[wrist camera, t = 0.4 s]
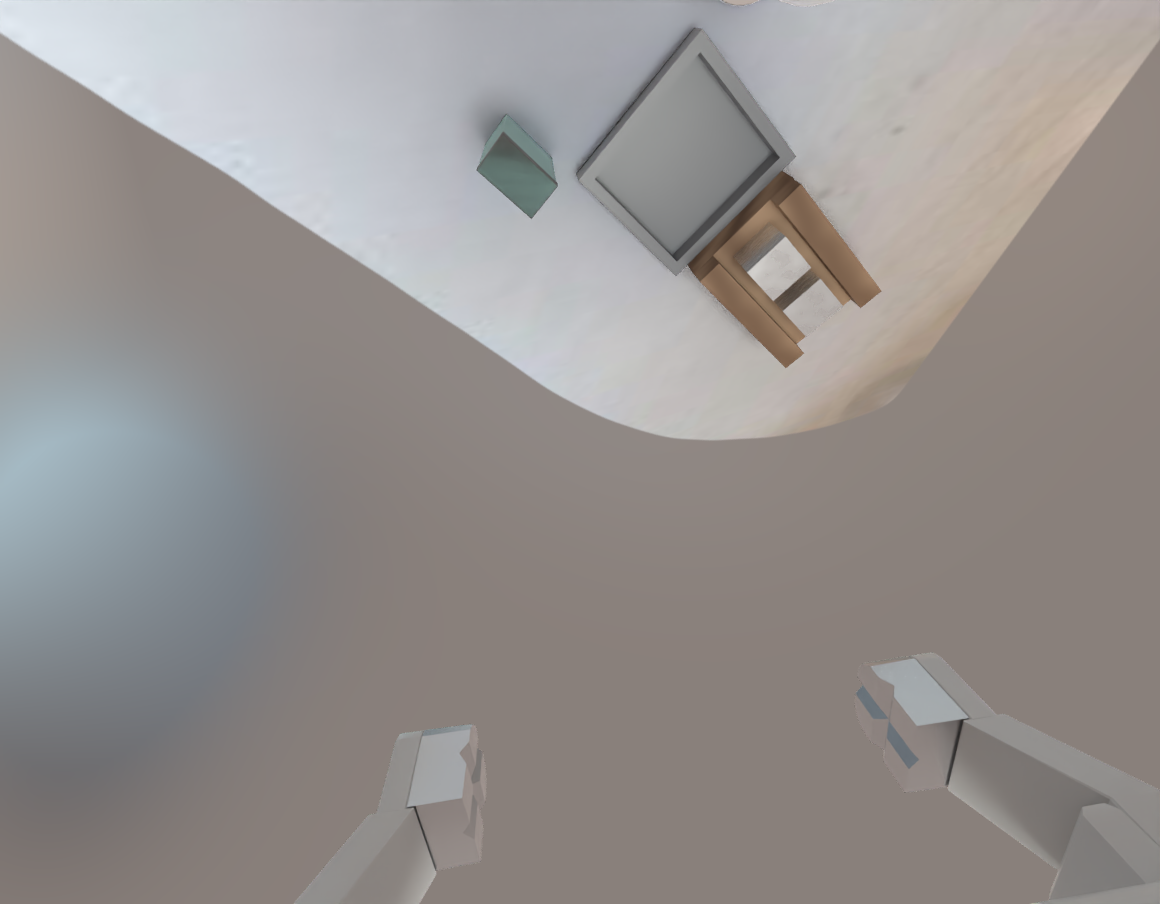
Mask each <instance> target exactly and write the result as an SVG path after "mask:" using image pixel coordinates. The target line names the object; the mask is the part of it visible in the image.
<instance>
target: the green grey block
mask: <svg viewBox="0 0 1160 904" xmlns="http://www.w3.org/2000/svg"><path fill="white" fill-rule="evenodd" d="M477 171H478V172H479V173H480V174H481V175H482V176H484V177H485V178H486V179H487V180H488V181H489V182H490V183H491V184H493V185H494V186H495V187H496V188H497V189H498V190H499V191H501V192H502V193H503V194H504V195H505V196H506V197H507V198H508V199H510V200H511V201H512V202H513V203H514V204H515V205H516V206H517V207H519V208H520V209H521V210H522V211H523V212H524V213H525V214H527V215H528V216H529V217H530V218H531V219H532V218H533V216H534V215H535V214H536V213H537V211H538V210H539V209H540V208H541V206H542V205H543V204H544V203H545V201H546V200H547V199H548V198H549V196H550V195H551V194H552V193H553V191H554V190H555V189H556V188H557V186H558V184H557V182H556V178H555V173H554V168H553V162H552V158H551V157H550V156H549V155H548V154H547V153H546V152H545V151H544V150H543V149H542V148H541V147H540V146H539V145H538V144H537V143H536V142H535V141H534V140H533V139H532V138H531V137H530V136H529V135H528V134H527V133H526V132H525V131H524V130H523V129H522V128H521V127H519V126H518V125H517V124H516V123H515V122H514V121H513V120H512V119H511V118H510V117H509V116H508V115H507V114H506V115H505V117H504V118H503V120H502V121H501V123H500V124H499V125H498V127H497V128H496V130H495V131H494V133H493V134H492V135H491V137H490V138H489V140H488V141H487V143H486V144H485V147H484V150H483V154H482V157H481V160H480V164H479V166H478V167H477Z"/></svg>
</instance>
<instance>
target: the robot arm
mask: <svg viewBox="0 0 1160 904" xmlns="http://www.w3.org/2000/svg"><path fill="white" fill-rule="evenodd" d="M858 679H859V680H860V682H861V683H862V687H861V688H860V689H859V690H858V691H857V692H856V694H855V709H856V713H857V718H858V721H859V723H860V725H861V727H862V729H863V731H864V733H865V734H866V736H867V737H868V739H869V741H870V742H872V743H873V744H875V745H877V746H878V747H880V748H882V749H883V750H884V763H885V765H886V766H887V767H888V769H889V770H890V772H891V773H892V775H893V776H894V778H895V779H896V781H897V782H898V784H899V785H900V787H901V788H902V790H903V791H904V793H906V792H914V791H922V790H929V789H937V788H945V787H948V790H949V791H950V792H952V793H953V794H954V795H956V796H957V797H958V798H960V799H961V800H963V801H964V802H965V803H967V804H968V805H969V806H971V807H972V808H973V809H975V810H976V811H977V812H979V813H980V814H982V815H983V816H984V817H986V818H987V819H988V820H990V821H991V822H992V823H994V824H995V825H997V826H998V827H999V828H1001V829H1002V830H1003V831H1005V832H1006V833H1008V834H1009V835H1010V836H1011V837H1013V838H1014V839H1016V840H1017V841H1018V842H1020V843H1021V844H1023V845H1024V846H1025V847H1027V848H1028V849H1029V850H1031V851H1032V852H1033V853H1035V854H1036V855H1037V856H1039V857H1040V858H1042V859H1043V860H1044V861H1046V862H1047V863H1048V864H1050V865H1051V866H1052V867H1054V868H1055V869H1057V870H1058V872H1057V875H1056V877H1055V880H1054V883H1053V886H1052V888H1051V891H1050V896H1049V901H1044V902H1037V903H1032V904H1160V790H1159V789H1157V788H1155V787H1153V786H1151V785H1149V784H1147V783H1145V782H1142V781H1141V780H1139V779H1136V778H1134V777H1132V776H1130V775H1128V774H1126V773H1124V772H1122V771H1120V770H1118V769H1116V768H1114V767H1112V766H1110V765H1108V764H1105V763H1104V762H1102V761H1100V760H1098V759H1096V758H1093V757H1091V756H1089V755H1087V754H1085V753H1083V752H1081V751H1079V750H1077V749H1075V748H1073V747H1071V746H1069V745H1067V744H1065V743H1063V742H1061V741H1059V740H1057V739H1054V738H1053V737H1050V736H1049V735H1046V734H1044V733H1042V732H1040V731H1038V730H1036V729H1034V728H1032V727H1030V726H1028V725H1026V724H1024V723H1022V722H1020V721H1018V720H1016V719H1014V718H1012V717H1010V716H1008V715H1006V714H1000V715H997V714H996V713H995V712H994V711H993V710H992V709H991V708H990V707H989V706H988V705H987V704H986V703H985V702H984V701H983V700H982V699H981V698H980V697H979V696H978V695H977V694H976V693H975V692H974V691H973V690H972V689H971V688H970V687H969V686H968V685H967V684H966V683H965V682H964V680H962V679H961V677H960V676H959V675H958V674H957V673H956V672H955V671H954V670H953V669H952V668H951V667H950V666H949V665H948V664H947V663H946V662H945V661H944V660H943V659H942V658H941V657H940V656H939V655H937V654H935V653H933V652H932V653H925V654H919V655H913V656H908V657H906V656H905V657H898V658H892V659H887V660H880V661H875V662H869V663H863V664H862V665H861V666H860V667H859V670H858ZM477 745H478V733H477V730H476V727H475V725H474V724H470V725H461V726H454V727H445V728H438V729H430V730H424V731H416V732H409V733H401V734H400V735H399V737H398V738H397V740H396V742H395V746H394V749H393V753H392V757H391V761H390V765H389V769H388V772H387V776H386V780H385V784H384V787H383V791H382V795H381V798H380V802H379V806H378V810H377V813H375V814H370V815H368V817H367V818H366V819H365V820H364V821H363V822H362V823H361V825H360V826H359V827H358V828H357V829H356V831H355V832H354V833H353V834H352V835H351V836H350V838H349V839H348V840H347V841H346V842H345V844H344V845H343V846H342V847H341V848H340V849H339V851H338V852H337V853H336V854H335V855H334V857H333V858H332V859H331V860H330V861H329V862H328V864H327V865H326V866H325V867H324V868H323V869H322V871H321V872H320V873H319V874H318V875H317V877H316V878H315V879H314V880H313V881H312V882H311V884H310V885H309V886H308V887H307V888H306V890H305V891H304V892H303V893H302V894H301V895H300V897H299V898H298V899H297V900H296V901H295V903H294V904H419V903H420V901H421V900H422V898H423V896H424V895H425V893H426V891H427V889H428V888H429V886H430V884H431V883H432V881H433V879H434V877H435V876H436V871H437V870H442V869H447V868H452V867H457V866H462V865H468V864H473V863H478V862H481V852H482V840H483V828H484V825H483V821H482V817H481V814H480V810H481V808H482V807H483V806H484V804H485V802H486V768H485V761H484V756H483V752H482V751H481V750H479V749H478V748H477Z"/></svg>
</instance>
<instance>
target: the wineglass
mask: <svg viewBox="0 0 1160 904" xmlns="http://www.w3.org/2000/svg"><path fill="white" fill-rule="evenodd" d="M720 1H722V2H723V3H725V4H728V5H731V6H746V5H750V4H753V3H755V2H758V1H760V0H720ZM779 1H781V2H784V3H787V4H790V5H794V6H802V7H811V6H815V5H820V4H824V3H829V2H832V1H836V0H779Z"/></svg>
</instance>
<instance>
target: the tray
mask: <svg viewBox="0 0 1160 904" xmlns="http://www.w3.org/2000/svg"><path fill="white" fill-rule="evenodd" d="M795 157H796V156H795V154H794V153H793V152H792V150H791V149H790V148H789V146H788V145H787V143H786V142H785V141H784V139H783V138H782V137H781V135H780V134H779V133H778V131H777V130H776V128H775V127H774V126H773V124H772V123H771V122H770V120H769V119H768V118H767V116H766V115H765V113H764V112H763V111H762V109H761V108H760V107H759V105H758V104H757V103H756V101H755V100H754V98H753V97H752V96H751V94H750V93H749V92H748V90H747V89H746V88H745V86H744V85H743V83H742V82H741V81H740V79H739V78H738V77H737V75H736V74H735V73H734V71H733V70H732V69H731V67H730V66H729V64H728V63H727V62H726V60H725V59H724V58H723V56H722V55H721V54H720V52H719V51H718V49H717V48H716V47H715V45H714V44H713V43H712V41H711V40H710V39H709V37H708V36H707V34H706V33H705V32H704V30H703V29H699V28H694V29H693V30H692V32H691V33H690V34H689V35H688V37H687V38H686V39H685V40H684V41H683V43H682V44H681V45H680V46H679V48H678V49H677V50H676V51H675V53H674V54H673V55H672V56H671V58H670V59H669V60H668V61H667V62H666V64H665V65H664V66H663V67H662V69H661V70H660V71H659V72H658V74H657V75H656V76H655V77H654V79H653V80H652V81H651V82H650V83H649V85H648V86H647V87H646V88H645V90H644V91H643V92H642V93H641V95H640V96H639V97H638V98H637V100H636V101H635V102H634V103H633V105H632V106H631V107H630V108H629V109H628V111H627V112H626V113H625V114H624V116H623V117H622V118H621V119H620V121H619V122H618V123H617V124H616V126H615V127H614V128H613V129H612V130H611V132H610V133H609V134H608V135H607V137H606V138H605V139H604V140H603V142H602V143H601V144H600V145H599V147H598V148H597V149H596V150H595V151H594V153H593V154H592V155H591V156H590V158H589V159H588V160H587V161H586V163H585V164H584V165H583V166H582V168H581V169H580V170H579V171H578V173H577V177H578V181H579V182H580V183H581V184H582V185H584V186H585V187H586V188H587V189H588V190H589V191H590V192H591V193H592V194H593V195H594V196H595V197H596V198H597V199H598V200H599V201H600V202H601V203H602V204H603V205H604V206H605V207H606V208H607V209H608V210H609V211H610V212H611V213H612V214H613V215H614V216H615V217H616V218H617V219H618V220H619V221H620V222H621V223H622V224H623V225H624V226H625V227H626V228H627V229H628V230H629V231H630V232H631V233H632V234H634V235H635V236H636V237H637V238H638V239H639V240H640V241H641V242H642V243H643V244H644V245H645V246H646V247H647V248H648V249H649V250H650V251H651V252H652V253H653V254H654V255H655V256H656V257H657V258H658V259H659V260H660V261H661V262H662V263H663V264H664V265H665V266H666V267H667V268H668V269H669V270H670V271H671V272H672V273H673V274H674V275H675V276H677V275H678V274H679V273H680V272H681V271H682V270H683V269H684V268H685V267H686V266H687V265H688V264H689V263H690V262H691V261H692V260H693V259H694V258H695V257H696V256H697V255H698V254H699V253H700V252H701V251H702V250H703V249H704V248H705V247H706V246H707V245H708V244H709V243H710V242H711V241H712V240H713V239H714V238H715V237H716V236H717V235H718V234H719V233H720V232H721V231H722V230H723V229H724V228H725V227H726V226H727V225H728V224H729V223H730V222H731V221H732V220H733V219H734V218H735V217H736V216H737V215H738V214H739V213H740V212H741V211H742V210H743V209H744V208H745V207H746V206H747V205H748V204H749V203H750V202H751V201H752V200H753V199H754V198H755V197H756V196H757V195H758V194H759V193H760V192H761V191H762V190H763V189H764V188H765V187H766V186H767V185H768V184H769V183H770V182H771V181H772V180H773V179H774V178H775V177H776V176H777V175H778V174H779V173H780V172H781V171H782V170H783V169H784V168H785V167H786V166H787V165H788V164H789V163H790V162H791V161H792V160H793V159H794V158H795Z"/></svg>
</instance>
